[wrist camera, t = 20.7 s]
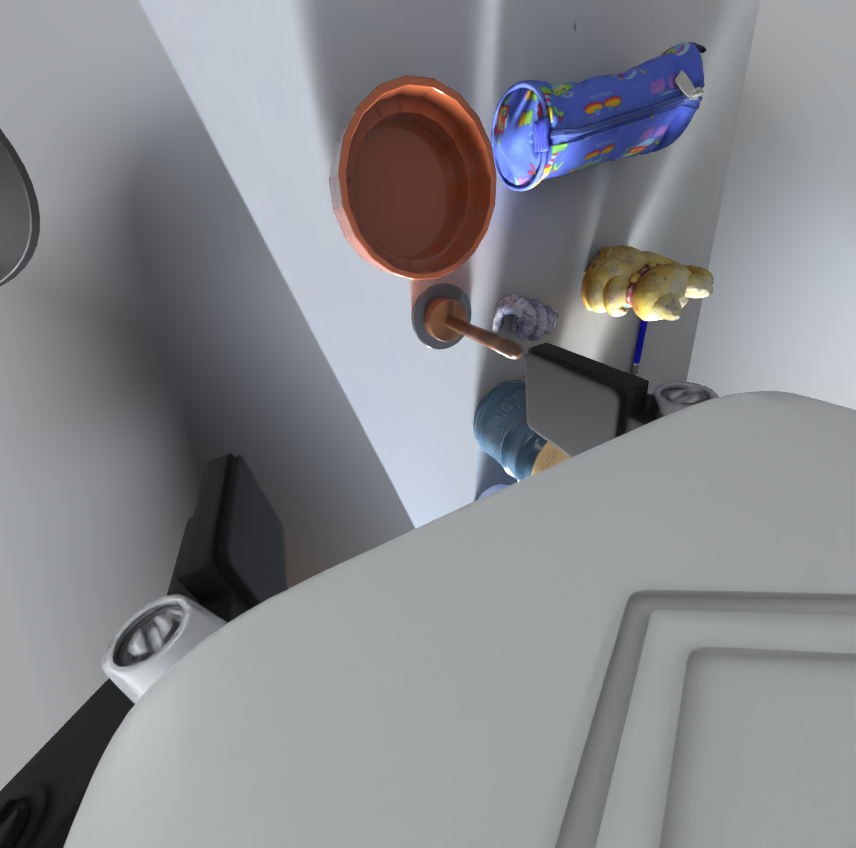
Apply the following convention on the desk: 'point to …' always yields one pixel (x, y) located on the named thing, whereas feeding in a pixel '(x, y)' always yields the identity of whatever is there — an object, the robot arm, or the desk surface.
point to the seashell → (525, 317)
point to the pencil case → (595, 117)
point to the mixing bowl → (413, 179)
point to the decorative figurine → (642, 284)
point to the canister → (513, 433)
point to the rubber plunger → (463, 327)
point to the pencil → (639, 347)
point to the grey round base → (422, 305)
